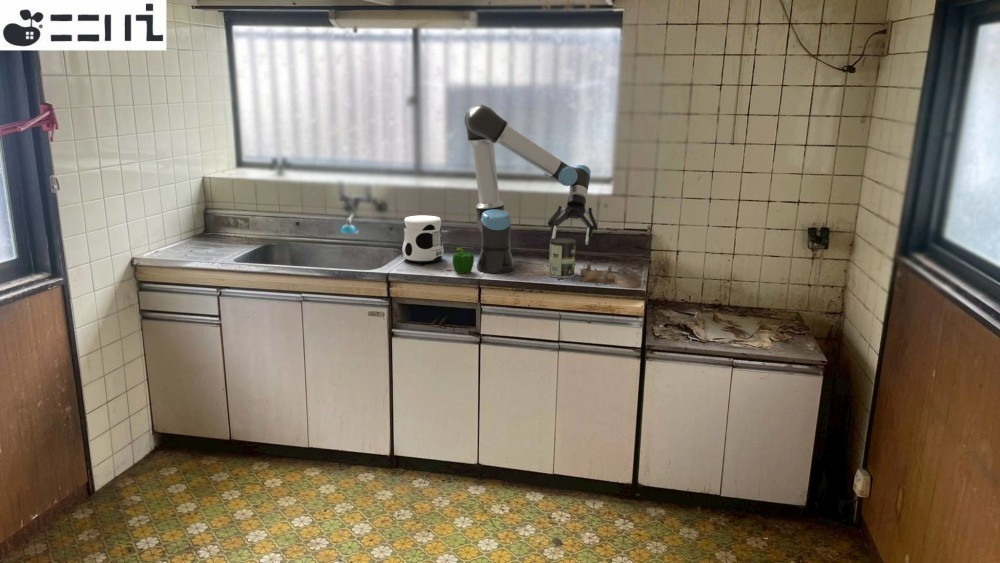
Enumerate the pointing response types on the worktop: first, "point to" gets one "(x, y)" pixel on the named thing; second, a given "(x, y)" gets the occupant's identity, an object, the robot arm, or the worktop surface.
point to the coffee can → (562, 257)
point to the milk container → (422, 239)
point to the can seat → (597, 275)
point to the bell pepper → (463, 261)
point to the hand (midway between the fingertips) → (569, 242)
